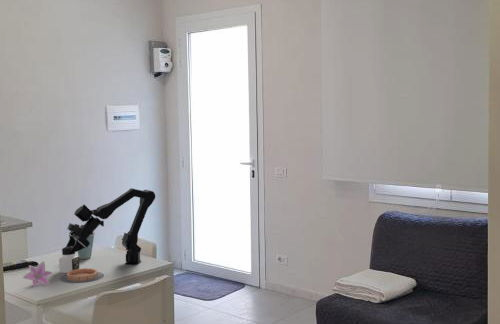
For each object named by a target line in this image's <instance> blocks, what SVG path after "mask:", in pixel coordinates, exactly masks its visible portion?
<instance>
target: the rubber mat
mask: <svg viewBox="0 0 500 324" xmlns="http://www.w3.org/2000/svg"><path fill="white" fill-rule="evenodd" d="M104 276H105V275H104V273H102V272H99V271H98V277H96V278H95V279H91V280H87V281H71V280H67V273H65V274H64V275H62V276H61V277H60V278H59V279H60V281H61V282H63V283H66V284H67V283H69V284H83V283H84V284H85V283H92V282H96V281H99V280H101V279H103V278H104Z"/></svg>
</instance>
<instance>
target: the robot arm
mask: <svg viewBox="0 0 500 324" xmlns="http://www.w3.org/2000/svg"><path fill="white" fill-rule="evenodd" d="M134 198H139V206H138V209H137V211H136V212H135V213H136V214H135V216H134V218H133V221H132V223H131V226H130V228H129V231H128V232H127V233H126V232H124V233H123V237H122V238H121V245H122V247H124V248H125V250H126V253H125V265H139V264H140V263H142V259H141V251H142V248H141V246H139V244H138V241H139V237H138V235H139V232H140V229H141V227H142V224H143V221H144V219H145V217H146V214H147V212H148V209H149V208H150V207H151V205H152V204H153V203H154V201H155V200H156V193H155V192H154V191H152V190H150V189H144V190H140V189H136V188H134V187H133V188H132V187H131V188H129V190H126V192H124V193H123V194H121V195H120V196H118V197H116V198H115V199H113V200H112V201H110V202H108V203H105V204H103V205H100V206H98V207H96V209H89V207H87V205H86V204H82V205H81V206H79V207H78V208H76V210H75V212H74V216H75V217H77V219H79V220H80V221H81V222H83V223H84V222H85V223H84V224H81V225H79V224H77V223H75V224H74V223H71V222H70V223H68V227H67V230H68V231H69V235H68V236H69V237H68V238H69V239H68V241H67V244H66V245H65V247H72V249H71V250H70V252H69V254H73V253H75V254H76V253H78V251H79V250H81V249H84V248H85V247H88V246H89V245H90V242H89V241H88V240H87V238H88V237H89V236H90V235H93V232H95V230H97V228H98V227H99V226H101V227H104V226H105V224H104V222H105V221H104V220H106V219H108V218H110V216H112V215H113V213H114V212H115V211H116V209H118V208H120V207H122V206H123V205H124V204H126V203H127V202H129V201H130V200H132V199H134Z"/></svg>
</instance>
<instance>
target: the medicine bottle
mask: <svg viewBox="0 0 500 324" xmlns="http://www.w3.org/2000/svg"><path fill="white" fill-rule="evenodd" d="M71 249H72V247H66V246H65V247H63V248H62V249H61V255H62V257H59V258H58V269H59V273H60V274H67V272H69V271H71V270H76V269H81V268H80V258H79V256H78V255H76V252H75V253H73V254H69V252H70V250H71Z"/></svg>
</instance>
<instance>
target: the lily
mask: <svg viewBox="0 0 500 324" xmlns="http://www.w3.org/2000/svg"><path fill="white" fill-rule="evenodd" d="M28 267H29V271H30V272H28V273H26V274H24V275H23V276H22V278H23V279H25V280H29V281H32V287H33V288H34V287H37V286H38V285H39V284H43V285H45V286H50V282H49V279H48V277H49V276H51V275H52V274H53V272H52V271H48V270H46V263H45V261H44V260H42V261H41V262H40V263H39V264H38V265H37V266H33V265H31V264H30V265H28Z"/></svg>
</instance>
